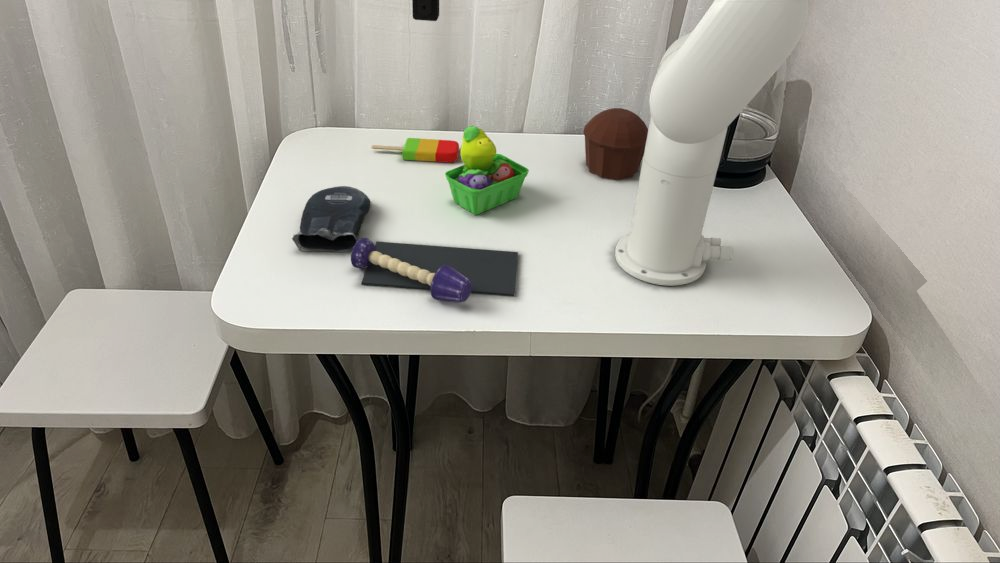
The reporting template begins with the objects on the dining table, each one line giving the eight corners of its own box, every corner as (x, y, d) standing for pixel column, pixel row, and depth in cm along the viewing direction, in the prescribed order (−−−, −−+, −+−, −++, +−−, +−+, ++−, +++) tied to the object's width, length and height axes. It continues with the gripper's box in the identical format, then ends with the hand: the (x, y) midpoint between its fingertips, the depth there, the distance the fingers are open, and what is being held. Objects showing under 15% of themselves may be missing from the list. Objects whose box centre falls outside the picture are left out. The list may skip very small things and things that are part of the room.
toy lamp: (345, 271, 98) (455, 313, 92) (350, 237, 96) (462, 278, 90) (367, 264, 102) (473, 304, 96) (372, 231, 100) (480, 270, 94)
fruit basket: (474, 222, 111) (476, 153, 105) (437, 198, 116) (437, 131, 110) (529, 199, 118) (534, 133, 111) (491, 178, 123) (495, 113, 116)
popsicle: (457, 163, 126) (457, 153, 125) (368, 158, 126) (368, 148, 125) (459, 149, 131) (459, 140, 130) (374, 144, 131) (373, 134, 130)
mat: (517, 254, 105) (517, 251, 104) (514, 296, 97) (514, 294, 96) (376, 243, 105) (376, 241, 105) (361, 284, 97) (361, 282, 97)
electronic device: (365, 260, 104) (374, 195, 115) (356, 230, 100) (367, 165, 111) (299, 266, 104) (315, 200, 115) (288, 235, 100) (305, 171, 111)
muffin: (583, 149, 134) (590, 96, 128) (645, 157, 132) (655, 103, 126) (575, 179, 124) (582, 123, 118) (642, 188, 123) (652, 132, 117)
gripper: (450, -136, 79) (448, 38, 89) (464, -151, 91) (461, 4, 101) (379, -140, 79) (386, 34, 89) (402, -155, 91) (406, 0, 102)
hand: (426, 18), depth 95 cm, fingers closed
